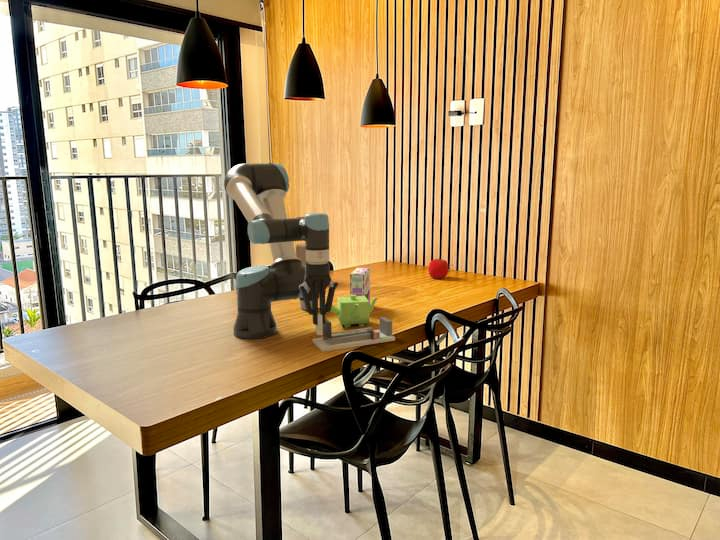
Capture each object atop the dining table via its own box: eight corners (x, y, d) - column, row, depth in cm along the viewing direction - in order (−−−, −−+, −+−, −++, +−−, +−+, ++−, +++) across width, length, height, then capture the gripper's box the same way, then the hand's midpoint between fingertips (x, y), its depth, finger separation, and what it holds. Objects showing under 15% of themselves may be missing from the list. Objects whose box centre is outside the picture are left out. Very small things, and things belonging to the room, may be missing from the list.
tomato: (428, 276, 281) (428, 256, 279) (448, 276, 279) (448, 257, 277) (428, 280, 271) (428, 259, 269) (448, 280, 269) (449, 260, 267)
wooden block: (308, 279, 275) (307, 241, 271) (323, 281, 269) (322, 243, 265) (295, 282, 267) (294, 244, 263) (310, 284, 261) (309, 245, 257)
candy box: (364, 313, 208) (364, 273, 205) (349, 313, 209) (349, 273, 206) (370, 305, 221) (370, 267, 218) (357, 304, 222) (356, 267, 219)
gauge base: (322, 351, 164) (322, 333, 163) (312, 342, 173) (312, 324, 172) (395, 340, 175) (395, 322, 174) (381, 332, 184) (381, 315, 183)
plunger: (330, 345, 165) (329, 324, 164) (321, 338, 172) (321, 318, 171) (373, 339, 172) (373, 318, 170) (364, 332, 179) (364, 312, 177)
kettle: (380, 322, 196) (380, 293, 194) (360, 332, 184) (360, 302, 182) (348, 316, 204) (347, 288, 202) (326, 325, 192) (325, 296, 190)
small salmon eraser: (374, 339, 171) (374, 332, 171) (372, 337, 173) (372, 331, 172) (377, 338, 172) (377, 332, 171) (375, 337, 173) (375, 331, 173)
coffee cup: (326, 308, 216) (325, 273, 214) (308, 313, 209) (307, 276, 207) (310, 304, 223) (309, 270, 220) (292, 308, 216) (291, 273, 213)
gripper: (301, 265, 158) (303, 339, 162) (341, 262, 163) (342, 334, 167) (294, 261, 165) (296, 332, 169) (332, 259, 170) (333, 328, 174)
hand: (319, 333), depth 168 cm, fingers closed
